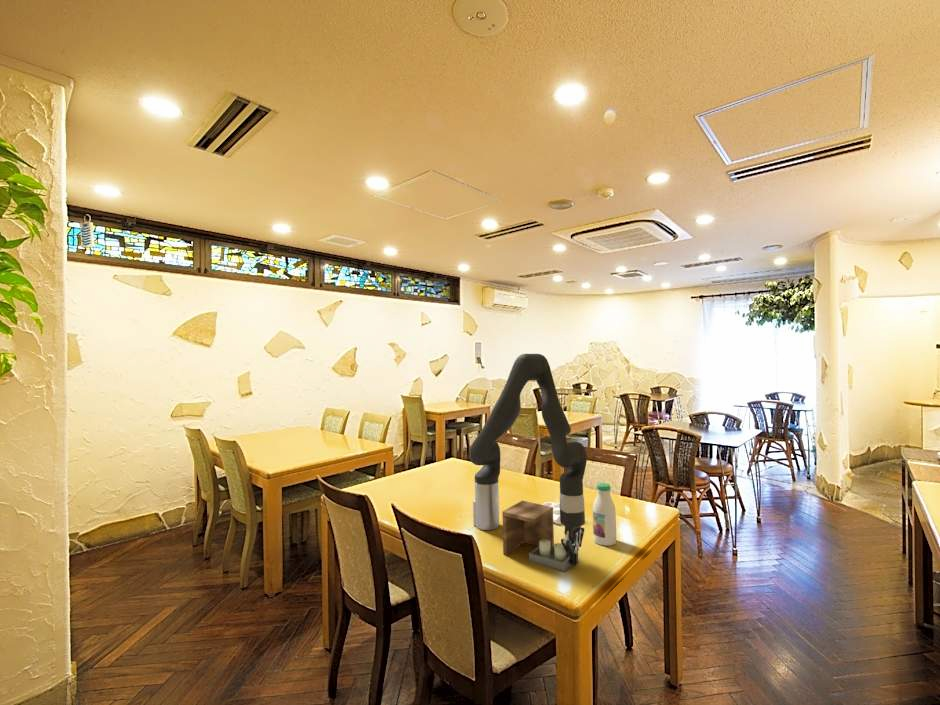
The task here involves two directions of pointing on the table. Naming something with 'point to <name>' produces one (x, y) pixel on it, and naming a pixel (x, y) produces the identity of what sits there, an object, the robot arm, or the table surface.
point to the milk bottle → (604, 517)
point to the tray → (549, 560)
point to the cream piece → (559, 552)
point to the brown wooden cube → (526, 525)
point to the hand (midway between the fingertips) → (574, 563)
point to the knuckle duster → (554, 511)
